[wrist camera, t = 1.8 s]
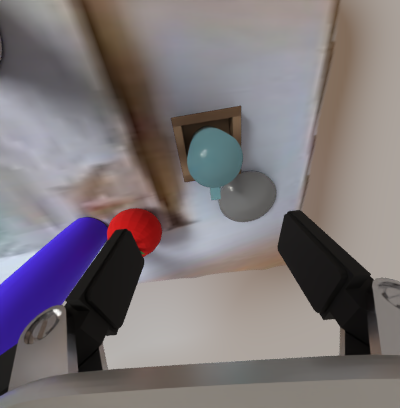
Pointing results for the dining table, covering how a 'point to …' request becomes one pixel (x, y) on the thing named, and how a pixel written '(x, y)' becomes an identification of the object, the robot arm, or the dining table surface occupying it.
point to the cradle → (191, 123)
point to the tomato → (138, 228)
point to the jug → (214, 158)
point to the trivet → (247, 196)
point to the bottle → (48, 277)
